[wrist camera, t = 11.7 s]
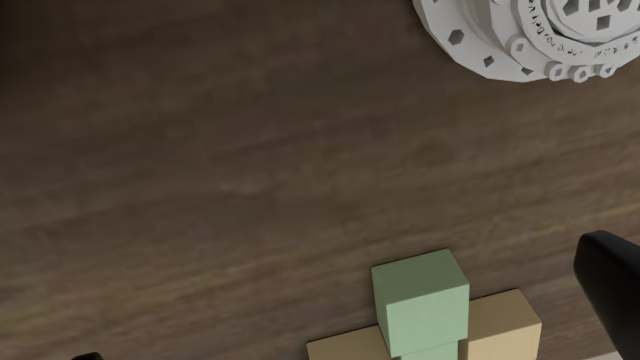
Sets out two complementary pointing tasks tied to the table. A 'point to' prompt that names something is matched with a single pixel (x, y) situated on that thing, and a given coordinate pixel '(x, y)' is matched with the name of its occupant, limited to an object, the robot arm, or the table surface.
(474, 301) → the dock pad
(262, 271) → the table surface
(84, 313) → the table surface
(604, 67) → the mechanical component
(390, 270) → the pad
